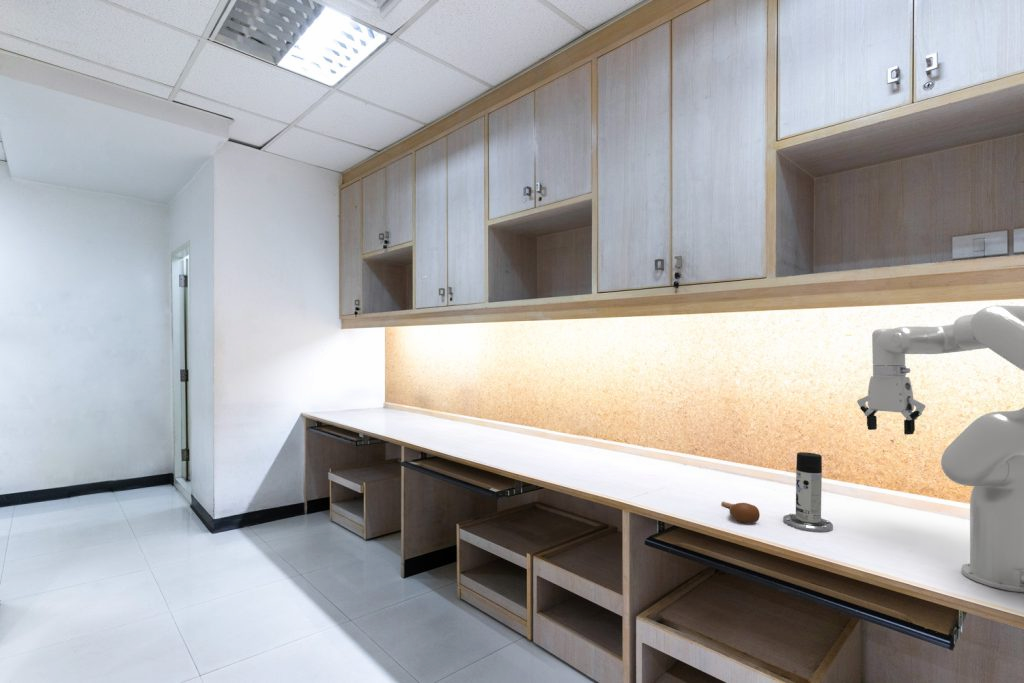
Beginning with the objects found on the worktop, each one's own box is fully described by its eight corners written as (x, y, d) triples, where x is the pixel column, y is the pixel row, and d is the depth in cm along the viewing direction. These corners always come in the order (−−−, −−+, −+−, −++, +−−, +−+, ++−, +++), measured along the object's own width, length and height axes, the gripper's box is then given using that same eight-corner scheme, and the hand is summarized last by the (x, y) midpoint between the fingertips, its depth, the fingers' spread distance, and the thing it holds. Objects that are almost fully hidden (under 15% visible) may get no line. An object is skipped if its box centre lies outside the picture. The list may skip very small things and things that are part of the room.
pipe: (729, 505, 171) (729, 488, 172) (761, 526, 152) (761, 505, 152) (707, 506, 171) (708, 488, 171) (737, 526, 152) (737, 506, 152)
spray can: (794, 515, 157) (794, 451, 157) (819, 518, 155) (819, 452, 155) (797, 522, 151) (798, 455, 151) (823, 525, 149) (824, 457, 149)
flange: (843, 529, 150) (843, 524, 150) (812, 534, 145) (812, 529, 145) (803, 515, 162) (803, 510, 162) (773, 520, 157) (773, 515, 157)
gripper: (931, 372, 139) (932, 435, 138) (865, 371, 155) (866, 427, 154) (915, 372, 136) (916, 437, 135) (849, 371, 152) (850, 428, 151)
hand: (890, 431), depth 145 cm, fingers open, 9 cm apart
